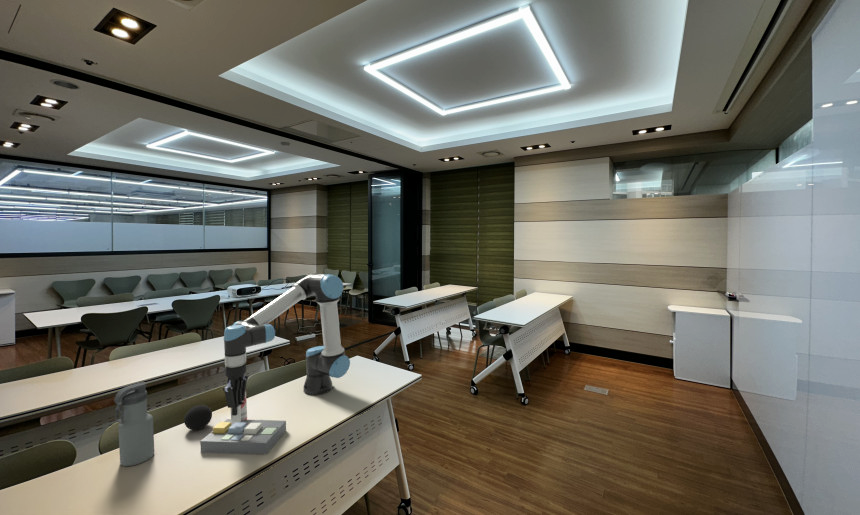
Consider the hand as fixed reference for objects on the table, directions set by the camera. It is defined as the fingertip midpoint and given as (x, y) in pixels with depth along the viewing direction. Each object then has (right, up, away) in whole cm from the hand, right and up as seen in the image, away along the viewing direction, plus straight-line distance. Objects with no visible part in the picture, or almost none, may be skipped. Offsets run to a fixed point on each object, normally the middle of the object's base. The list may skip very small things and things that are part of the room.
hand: (236, 421), depth 137 cm
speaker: (-22, -8, +10) cm, 26 cm away
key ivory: (+7, -4, 0) cm, 8 cm away
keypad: (+3, -8, 0) cm, 9 cm away
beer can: (-7, -8, +14) cm, 17 cm away
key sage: (+13, -6, 0) cm, 14 cm away
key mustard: (-6, -4, +1) cm, 8 cm away
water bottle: (-31, -9, -11) cm, 34 cm away
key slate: (0, -4, 0) cm, 4 cm away
